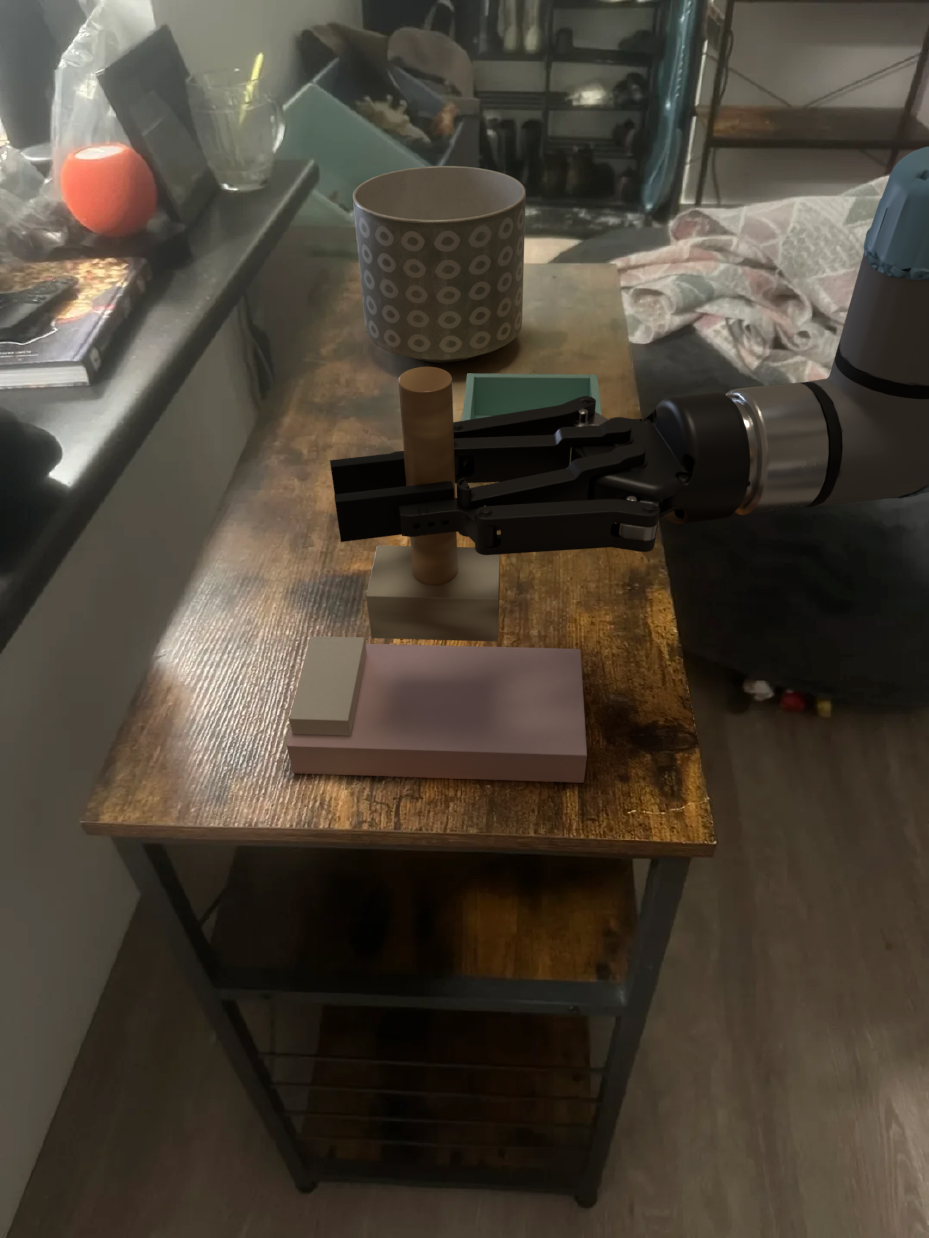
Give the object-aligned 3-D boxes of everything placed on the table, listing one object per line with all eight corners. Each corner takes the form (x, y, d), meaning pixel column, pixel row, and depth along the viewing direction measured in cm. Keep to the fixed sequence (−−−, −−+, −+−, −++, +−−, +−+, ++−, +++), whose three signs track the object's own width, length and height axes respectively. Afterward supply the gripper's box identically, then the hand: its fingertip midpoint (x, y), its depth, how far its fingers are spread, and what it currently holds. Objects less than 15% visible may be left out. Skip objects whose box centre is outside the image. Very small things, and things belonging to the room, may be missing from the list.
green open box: (593, 419, 95) (597, 374, 92) (599, 479, 87) (604, 432, 83) (467, 418, 96) (467, 373, 92) (461, 477, 87) (460, 430, 84)
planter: (524, 316, 115) (528, 166, 103) (518, 386, 101) (522, 221, 89) (380, 313, 116) (368, 165, 104) (355, 382, 102) (337, 219, 90)
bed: (577, 676, 67) (582, 632, 64) (583, 783, 60) (589, 739, 57) (318, 669, 68) (310, 626, 65) (292, 773, 61) (282, 730, 58)
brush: (499, 589, 59) (503, 357, 47) (497, 642, 55) (500, 403, 44) (381, 587, 59) (356, 356, 48) (371, 638, 55) (341, 401, 44)
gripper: (770, 586, 49) (354, 643, 47) (672, 440, 61) (333, 479, 58) (803, 474, 44) (337, 530, 42) (689, 337, 56) (318, 374, 53)
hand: (336, 500), depth 50 cm, fingers closed on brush, 3 cm apart
